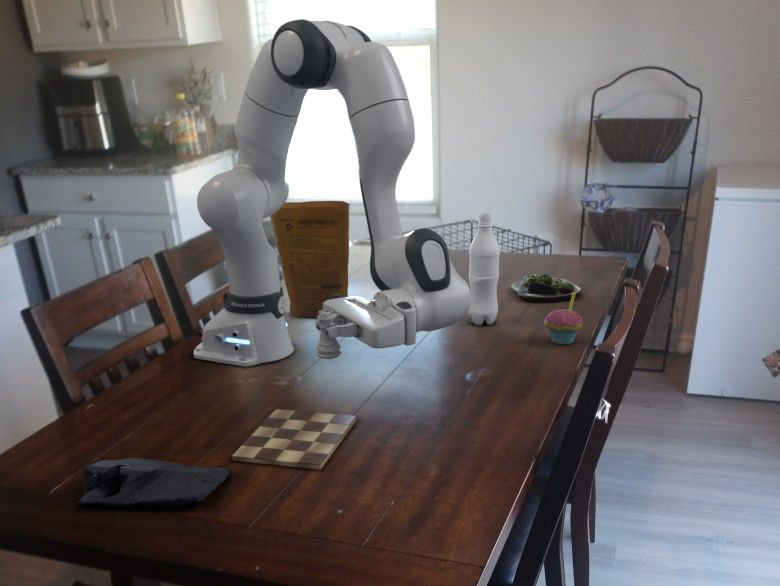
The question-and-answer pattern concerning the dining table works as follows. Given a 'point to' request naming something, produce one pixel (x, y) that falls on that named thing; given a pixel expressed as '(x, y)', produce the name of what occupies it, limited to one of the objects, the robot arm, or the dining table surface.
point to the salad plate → (545, 289)
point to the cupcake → (564, 324)
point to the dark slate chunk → (148, 482)
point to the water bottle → (484, 273)
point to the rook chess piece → (327, 337)
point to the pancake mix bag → (313, 253)
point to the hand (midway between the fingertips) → (322, 329)
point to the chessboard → (295, 439)
